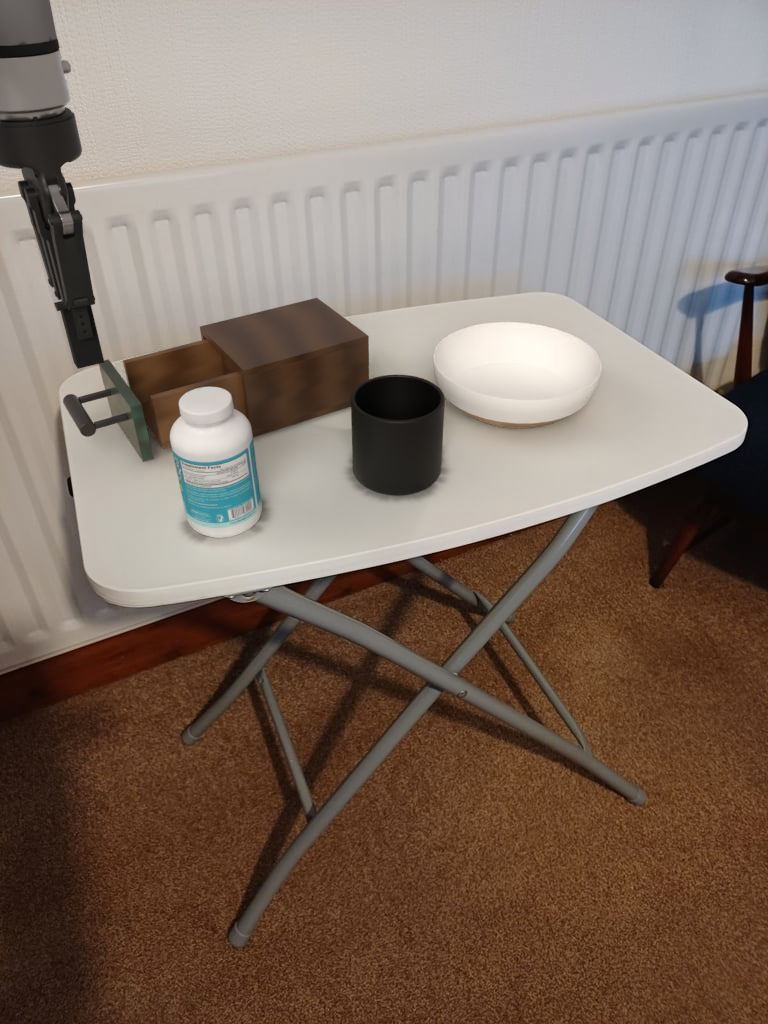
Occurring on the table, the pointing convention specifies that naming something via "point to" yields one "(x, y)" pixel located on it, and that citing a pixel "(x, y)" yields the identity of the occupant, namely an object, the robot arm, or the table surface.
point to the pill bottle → (215, 464)
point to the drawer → (156, 392)
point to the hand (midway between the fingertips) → (89, 362)
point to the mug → (397, 433)
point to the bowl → (516, 373)
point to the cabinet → (293, 361)
